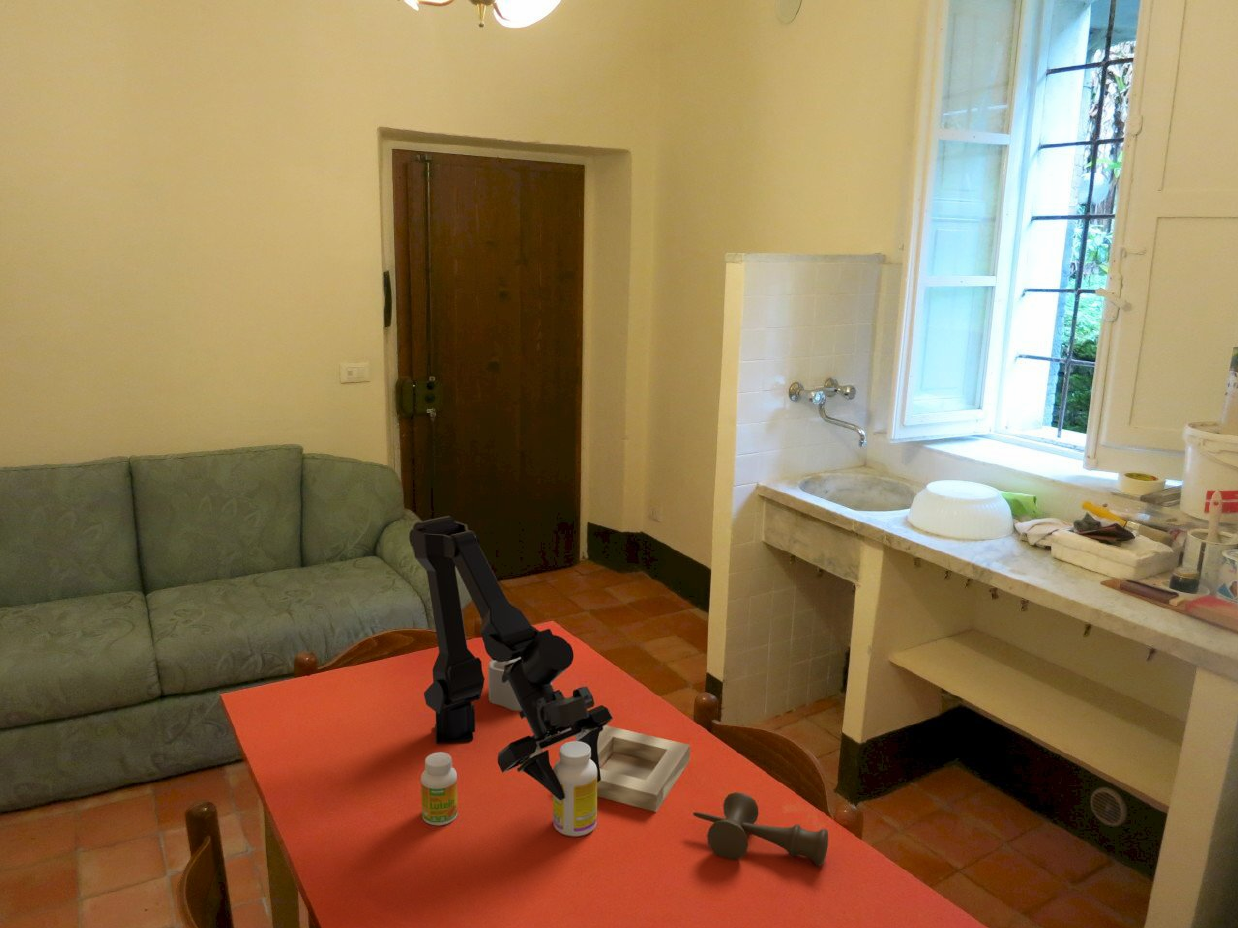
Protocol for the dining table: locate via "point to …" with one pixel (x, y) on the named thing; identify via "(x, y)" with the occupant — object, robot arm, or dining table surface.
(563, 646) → the robot arm
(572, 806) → the supplement bottle
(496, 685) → the lumpy-topped squat cylinder
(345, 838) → the dining table surface
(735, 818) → the kendama
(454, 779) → the supplement bottle
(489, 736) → the dining table surface
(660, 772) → the birch well block
